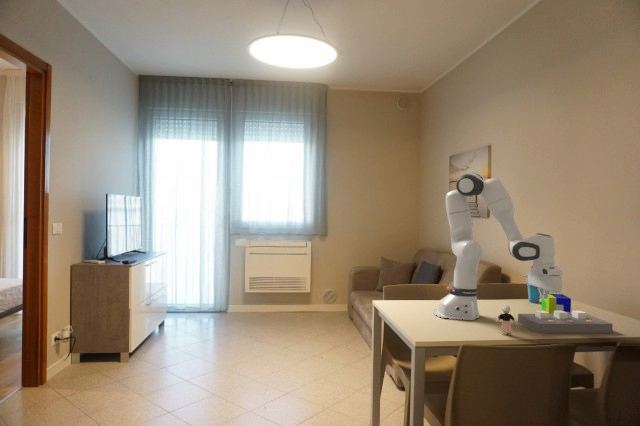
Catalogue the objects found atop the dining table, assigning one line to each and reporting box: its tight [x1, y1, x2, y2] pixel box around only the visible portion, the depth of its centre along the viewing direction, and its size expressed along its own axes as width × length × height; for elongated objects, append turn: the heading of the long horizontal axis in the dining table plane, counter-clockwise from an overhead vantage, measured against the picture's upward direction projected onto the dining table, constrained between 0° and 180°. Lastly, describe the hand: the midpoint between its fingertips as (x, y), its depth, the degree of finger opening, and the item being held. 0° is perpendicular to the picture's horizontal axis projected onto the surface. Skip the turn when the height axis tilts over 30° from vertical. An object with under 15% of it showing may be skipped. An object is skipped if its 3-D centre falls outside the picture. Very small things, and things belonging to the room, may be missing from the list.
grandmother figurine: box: [495, 304, 517, 336], centre depth 169 cm, size 8×4×13 cm, turn 92°
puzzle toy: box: [541, 293, 572, 314], centre depth 201 cm, size 10×10×10 cm
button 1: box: [534, 310, 549, 319], centre depth 182 cm, size 4×4×3 cm
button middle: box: [554, 311, 568, 319], centre depth 183 cm, size 4×4×3 cm
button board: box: [517, 313, 614, 334], centre depth 181 cm, size 34×16×4 cm, turn 93°
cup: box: [522, 274, 541, 304], centre depth 229 cm, size 14×8×15 cm, turn 24°
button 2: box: [571, 310, 587, 319], centre depth 183 cm, size 4×4×3 cm
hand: (543, 298), depth 182 cm, fingers closed
